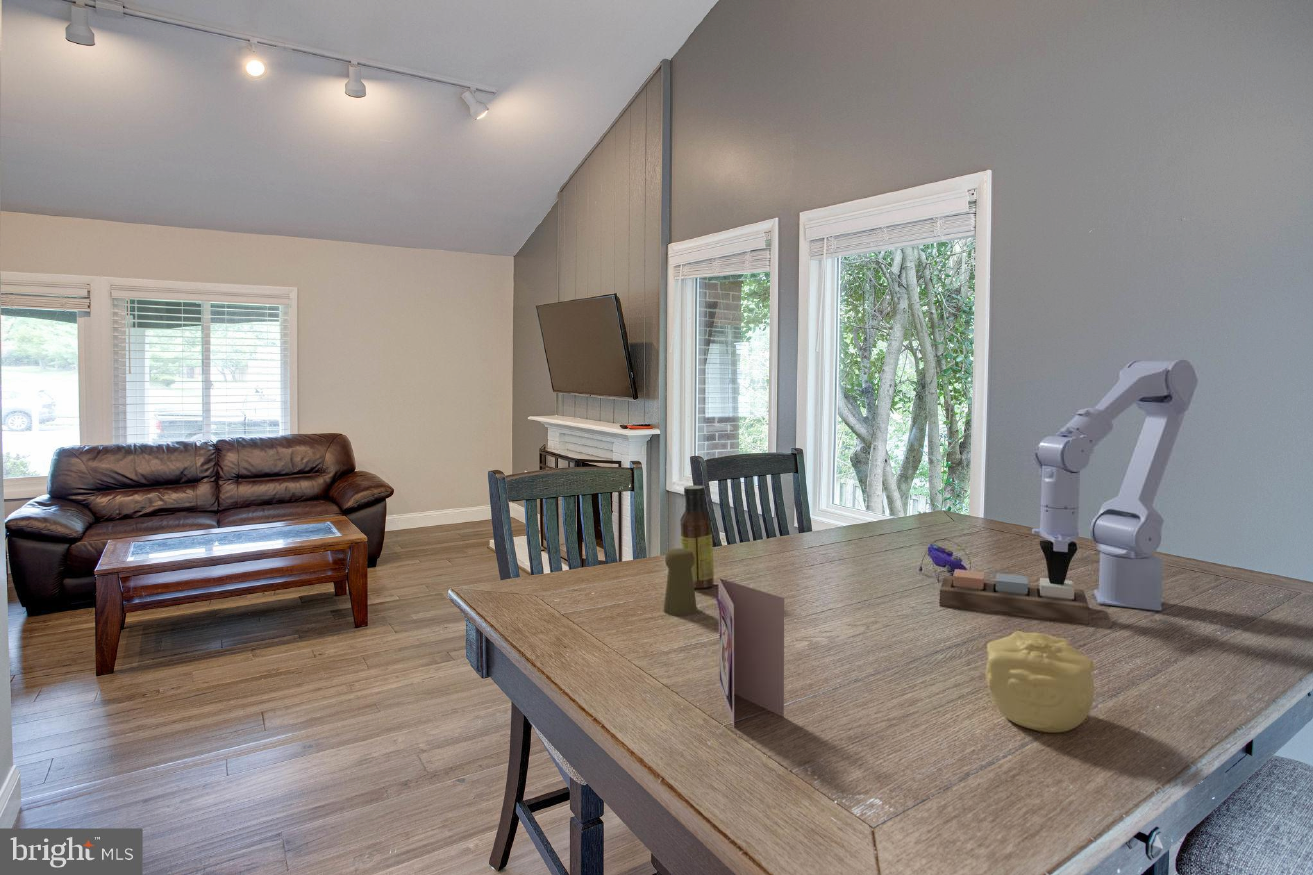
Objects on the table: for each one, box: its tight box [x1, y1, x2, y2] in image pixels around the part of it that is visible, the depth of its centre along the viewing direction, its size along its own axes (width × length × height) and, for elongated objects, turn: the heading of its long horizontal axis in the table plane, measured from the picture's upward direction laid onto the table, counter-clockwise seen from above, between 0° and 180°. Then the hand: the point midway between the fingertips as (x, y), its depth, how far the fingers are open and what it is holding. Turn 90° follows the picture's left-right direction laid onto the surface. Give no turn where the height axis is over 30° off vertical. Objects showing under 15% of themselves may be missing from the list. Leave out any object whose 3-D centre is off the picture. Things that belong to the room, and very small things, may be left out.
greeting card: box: [713, 577, 785, 728], centre depth 92 cm, size 11×7×15 cm, turn 4°
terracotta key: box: [952, 569, 985, 591], centre depth 132 cm, size 5×5×3 cm
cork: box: [663, 547, 698, 617], centre depth 129 cm, size 6×6×11 cm
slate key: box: [995, 572, 1029, 596], centre depth 129 cm, size 5×5×3 cm
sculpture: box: [985, 630, 1095, 734], centre depth 87 cm, size 12×12×11 cm
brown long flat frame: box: [938, 575, 1090, 625], centre depth 129 cm, size 23×10×3 cm, turn 64°
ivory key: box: [1039, 577, 1075, 601], centre depth 126 cm, size 5×5×3 cm
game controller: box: [918, 538, 972, 584], centre depth 149 cm, size 10×8×10 cm
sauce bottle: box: [680, 484, 715, 590], centre depth 143 cm, size 7×6×20 cm
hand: (1056, 583), depth 126 cm, fingers closed, pressing on ivory key
